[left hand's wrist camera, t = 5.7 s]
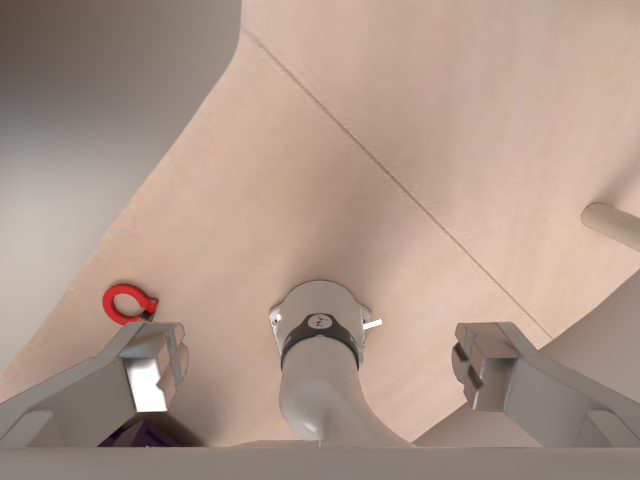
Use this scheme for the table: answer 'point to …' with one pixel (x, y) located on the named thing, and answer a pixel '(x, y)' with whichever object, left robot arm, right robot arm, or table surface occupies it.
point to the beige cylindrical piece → (613, 224)
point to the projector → (139, 437)
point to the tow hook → (138, 295)
